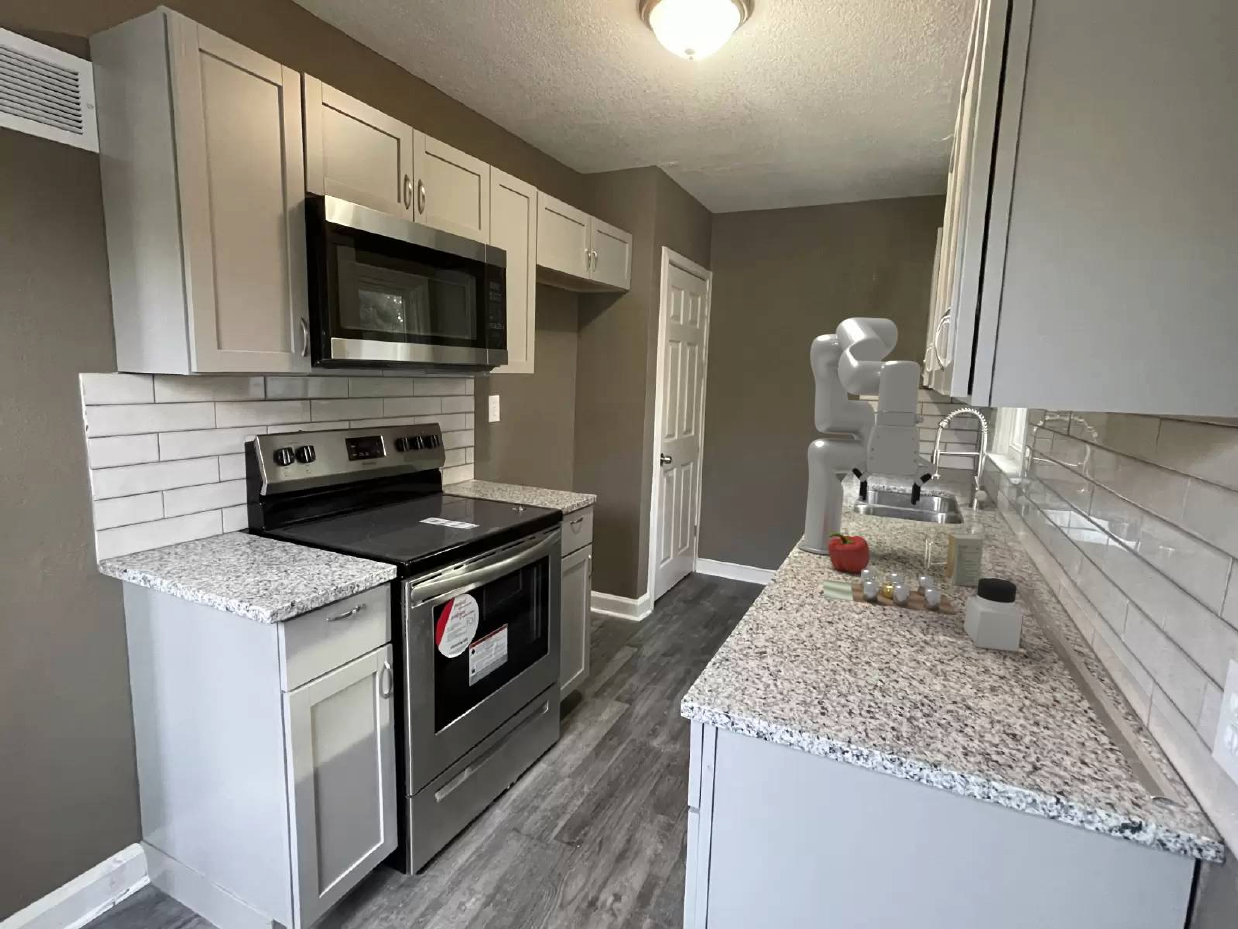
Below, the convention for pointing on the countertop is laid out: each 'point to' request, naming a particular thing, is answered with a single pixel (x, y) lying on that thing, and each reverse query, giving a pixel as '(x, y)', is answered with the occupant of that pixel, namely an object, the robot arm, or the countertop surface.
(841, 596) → the board
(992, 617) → the medicine bottle
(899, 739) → the countertop surface
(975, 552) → the skincare box
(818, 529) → the robot arm
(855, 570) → the vegetable
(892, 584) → the brass knob
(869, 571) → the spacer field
